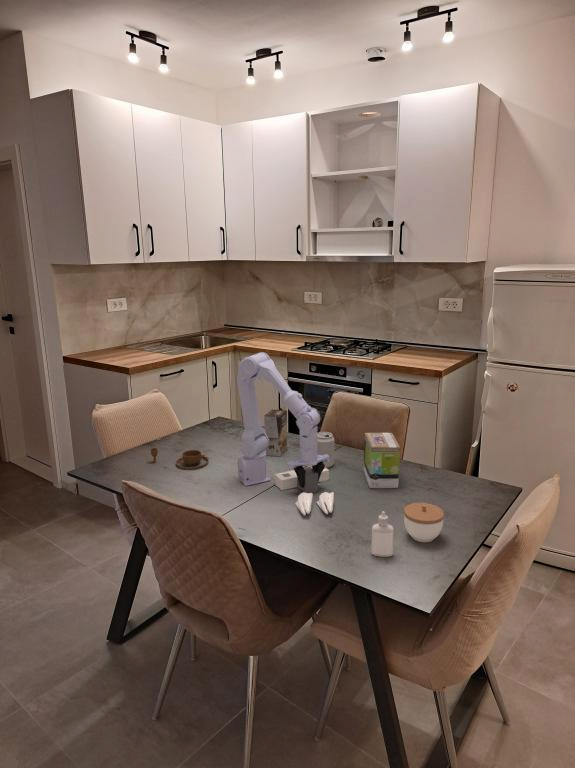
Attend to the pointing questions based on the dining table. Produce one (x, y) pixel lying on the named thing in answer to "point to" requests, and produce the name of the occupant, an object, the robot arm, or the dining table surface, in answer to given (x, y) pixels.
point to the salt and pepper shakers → (325, 497)
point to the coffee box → (276, 432)
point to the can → (326, 447)
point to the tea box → (381, 460)
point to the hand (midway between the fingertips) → (308, 485)
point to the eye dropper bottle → (382, 537)
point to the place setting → (186, 459)
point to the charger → (309, 481)
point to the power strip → (294, 479)
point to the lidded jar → (423, 521)
